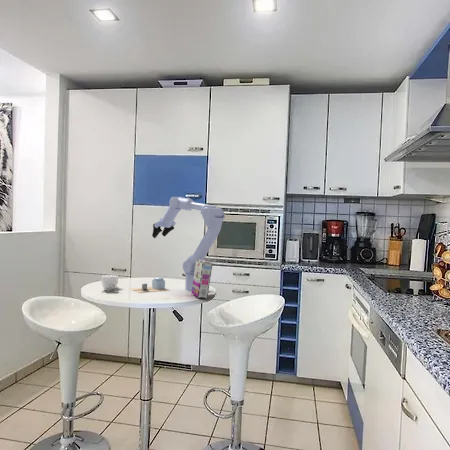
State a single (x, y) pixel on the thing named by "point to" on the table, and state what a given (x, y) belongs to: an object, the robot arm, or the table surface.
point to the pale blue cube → (158, 283)
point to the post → (144, 287)
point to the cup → (109, 282)
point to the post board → (148, 290)
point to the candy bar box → (201, 278)
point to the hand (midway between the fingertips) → (158, 236)
